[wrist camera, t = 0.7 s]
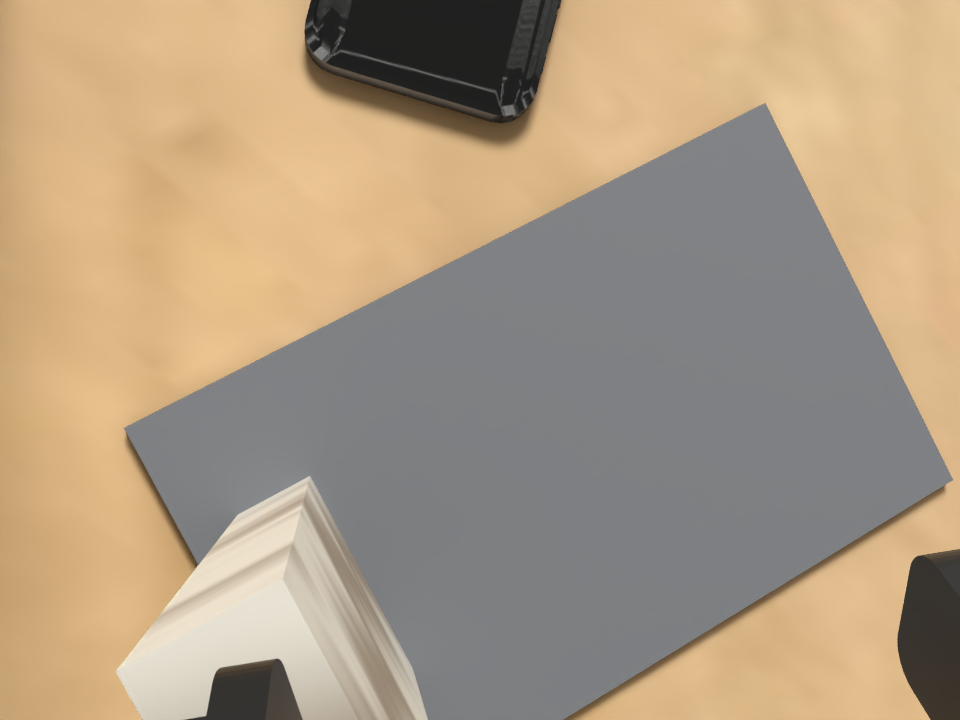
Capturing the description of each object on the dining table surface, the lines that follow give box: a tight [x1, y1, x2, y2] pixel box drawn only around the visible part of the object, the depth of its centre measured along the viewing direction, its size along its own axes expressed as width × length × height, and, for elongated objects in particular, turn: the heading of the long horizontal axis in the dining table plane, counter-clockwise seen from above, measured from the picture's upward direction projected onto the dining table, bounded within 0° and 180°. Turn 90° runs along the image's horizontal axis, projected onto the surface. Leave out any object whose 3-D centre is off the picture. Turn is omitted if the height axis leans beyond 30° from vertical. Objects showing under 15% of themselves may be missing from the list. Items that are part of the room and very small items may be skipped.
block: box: [116, 476, 428, 720], centre depth 20 cm, size 7×2×16 cm, turn 28°
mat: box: [124, 103, 953, 720], centre depth 30 cm, size 15×24×1 cm, turn 118°
